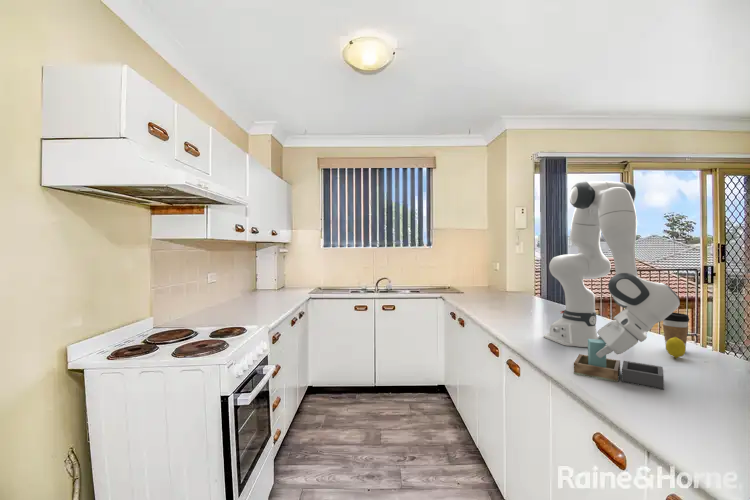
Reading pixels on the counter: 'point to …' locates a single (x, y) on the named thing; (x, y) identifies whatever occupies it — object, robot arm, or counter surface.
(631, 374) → the box
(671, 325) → the coffee cup
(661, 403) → the counter surface
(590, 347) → the teal block
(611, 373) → the walled bay
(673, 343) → the lemon
